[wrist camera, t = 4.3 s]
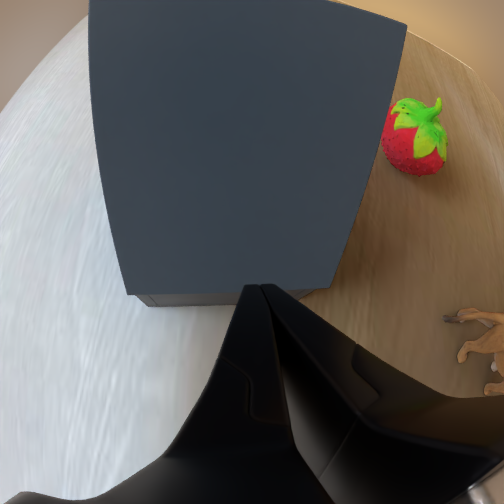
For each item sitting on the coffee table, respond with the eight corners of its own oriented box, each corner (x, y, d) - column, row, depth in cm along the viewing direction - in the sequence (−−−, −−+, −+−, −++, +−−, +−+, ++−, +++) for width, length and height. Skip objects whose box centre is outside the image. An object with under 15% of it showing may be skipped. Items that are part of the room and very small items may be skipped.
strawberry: (376, 196, 27) (440, 133, 18) (356, 132, 29) (402, 63, 20) (422, 198, 28) (486, 145, 19) (400, 138, 30) (449, 79, 21)
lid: (96, -3, 7) (88, -4, 6) (396, 22, 8) (408, 25, 8) (128, 283, 16) (126, 295, 15) (325, 277, 17) (330, 288, 17)
